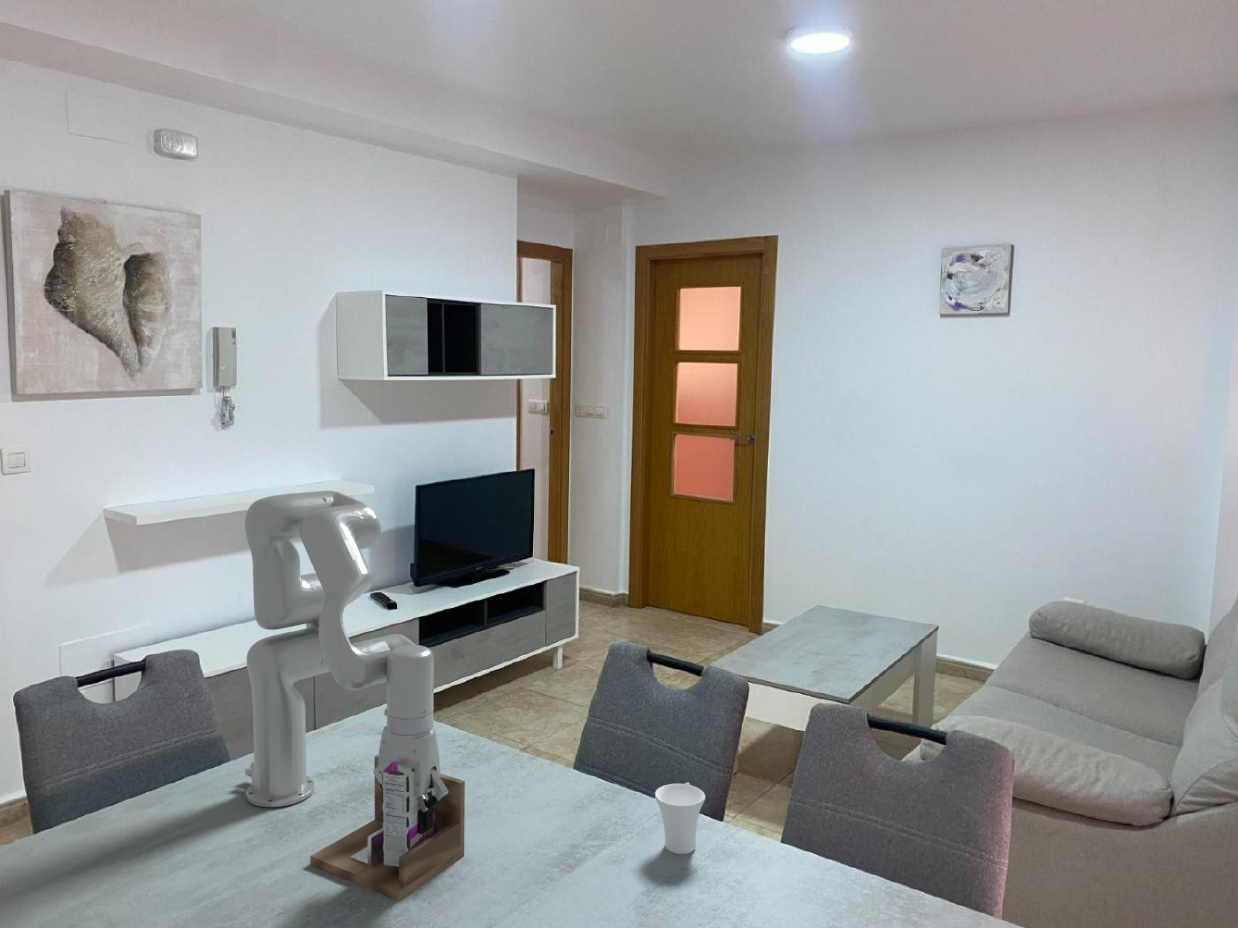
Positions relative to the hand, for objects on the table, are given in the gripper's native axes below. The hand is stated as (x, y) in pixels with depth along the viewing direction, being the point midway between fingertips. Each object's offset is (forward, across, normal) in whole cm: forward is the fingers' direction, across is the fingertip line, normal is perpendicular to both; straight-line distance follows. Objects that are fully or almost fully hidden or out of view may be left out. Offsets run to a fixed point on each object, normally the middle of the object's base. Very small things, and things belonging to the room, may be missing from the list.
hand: (409, 823), depth 155 cm
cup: (+8, +35, +31) cm, 48 cm away
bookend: (+6, -6, 0) cm, 9 cm away
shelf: (+8, -5, 0) cm, 9 cm away
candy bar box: (+5, 0, 0) cm, 5 cm away
